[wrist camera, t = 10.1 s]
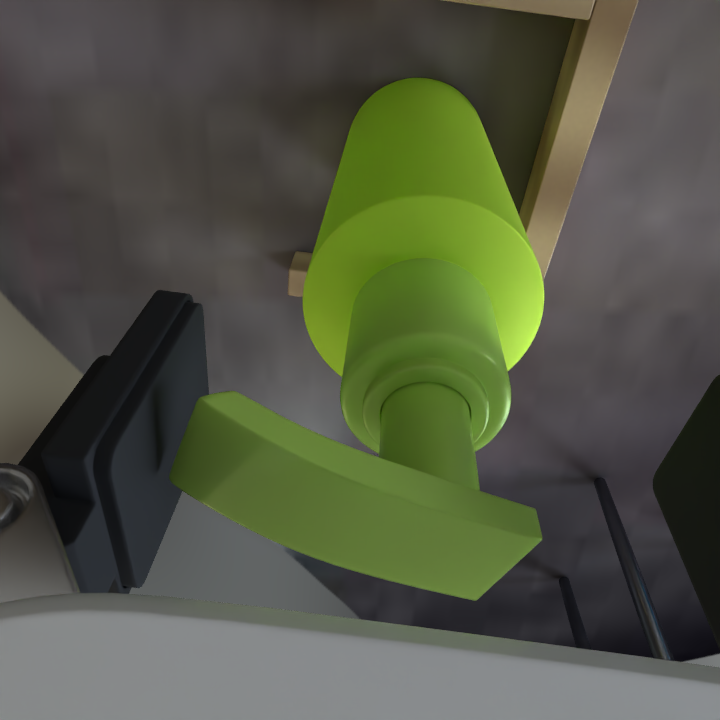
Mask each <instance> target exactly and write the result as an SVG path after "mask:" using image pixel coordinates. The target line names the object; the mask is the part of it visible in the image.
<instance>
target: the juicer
mask: <svg viewBox="0 0 720 720" xmlns="http://www.w3.org/2000/svg"><path fill="white" fill-rule="evenodd" d="M594 485H595V488H596V491H597V494H598V497H599V500H600V504H601V507H602V510H603V513H604V516H605V519H606V522H607V525H608V528H609V531H610V534H611V537H612V540H613V543H614V546H615V549H616V552H617V555H618V558H619V561H620V564H621V567H622V570H623V573H624V576H625V579H626V582H627V585H628V588H629V591H630V594H631V597H632V600H633V603H634V605H635V608H636V611H637V614H638V617H639V620H640V623H641V626H642V628H643V631H644V634H645V637H646V640H647V643H648V645H649V648H650V651H651V654H652V657H653V658H654V659H661V660H669V661H674V659H673V656H672V653H671V651H670V648H669V645H668V643H667V640H666V637H665V635H664V632H663V629H662V627H661V624H660V621H659V618H658V616H657V613H656V610H655V608H654V605H653V603H652V600H651V597H650V595H649V592H648V589H647V587H646V584H645V581H644V579H643V576H642V574H641V571H640V568H639V566H638V563H637V560H636V558H635V555H634V553H633V550H632V547H631V545H630V542H629V540H628V537H627V535H626V532H625V529H624V527H623V524H622V522H621V519H620V516H619V514H618V511H617V509H616V506H615V504H614V501H613V498H612V496H611V493H610V491H609V488H608V486H607V483H606V481H605V479H603V478H596V479H595V481H594ZM559 584H560V588H561V592H562V596H563V600H564V604H565V608H566V611H567V615H568V619H569V622H570V626H571V630H572V633H573V637H574V640H575V644H576V647H577V648H580V649H588V650H592V649H591V646H590V643H589V640H588V637H587V634H586V631H585V628H584V625H583V622H582V619H581V616H580V613H579V610H578V607H577V604H576V600H575V597H574V594H573V591H572V588H571V584H570V581H569V579H568V578H567V577H561V578H560V579H559Z"/></svg>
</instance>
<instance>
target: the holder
mask: <svg viewBox="0 0 720 720" xmlns="http://www.w3.org/2000/svg"><path fill="white" fill-rule="evenodd" d="M442 1H449V2H456V3H464V4H471V5H478V6H486V7H493V8H500V9H508V10H515V11H522V12H530V13H537V14H544V15H552V16H559V17H566V18H574V19H575V22H574V26H573V29H572V32H571V36H570V39H569V43H568V46H567V50H566V53H565V57H564V60H563V64H562V67H561V71H560V74H559V78H558V81H557V84H556V88H555V91H554V95H553V98H552V102H551V105H550V109H549V112H548V116H547V119H546V123H545V126H544V130H543V133H542V136H541V140H540V143H539V147H538V150H537V154H536V157H535V161H534V164H533V168H532V171H531V175H530V178H529V181H528V185H527V188H526V192H525V195H524V199H523V202H522V206H521V209H520V213H519V217H520V219H521V222H522V224H523V227H524V229H525V232H526V234H527V237H528V239H529V242H530V244H531V247H532V249H533V252H534V254H535V257H536V259H537V262H538V264H539V267H540V270H541V274H542V279H543V281H544V278H545V275H546V272H547V269H548V266H549V263H550V260H551V257H552V254H553V251H554V248H555V245H556V242H557V239H558V236H559V233H560V231H561V228H562V225H563V222H564V219H565V216H566V213H567V210H568V207H569V204H570V201H571V198H572V195H573V192H574V189H575V186H576V183H577V180H578V178H579V175H580V172H581V169H582V166H583V163H584V160H585V157H586V154H587V151H588V148H589V145H590V142H591V139H592V136H593V133H594V130H595V127H596V125H597V122H598V119H599V116H600V113H601V110H602V107H603V104H604V101H605V98H606V95H607V92H608V89H609V86H610V83H611V80H612V77H613V74H614V72H615V69H616V66H617V63H618V60H619V57H620V54H621V51H622V48H623V45H624V42H625V39H626V36H627V33H628V30H629V27H630V24H631V21H632V19H633V16H634V13H635V10H636V7H637V4H638V1H639V0H442ZM312 254H313V253H308V252H300V251H296V252H295V254H294V257H293V260H292V262H291V265H290V268H289V275H288V295H290V296H298V297H303V289H304V283H305V278H306V275H307V271H308V268H309V264H310V261H311V258H312Z"/></svg>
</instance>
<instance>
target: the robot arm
mask: <svg viewBox="0 0 720 720" xmlns="http://www.w3.org/2000/svg"><path fill="white" fill-rule="evenodd" d="M206 395H209V391H208V376H207V361H206V346H205V331H204V316H203V307H202V305H201V304H199V303H193V298H192V296H191V295H190V294H185V293H178V292H170V291H163V290H158V291H156V292H155V293H154V295H153V296H152V298H151V299H150V300H149V302H148V303H147V305H146V306H145V307H144V309H143V310H142V312H141V313H140V314H139V316H138V317H137V319H136V320H135V321H134V323H133V324H132V326H131V327H130V328H129V330H128V331H127V333H126V334H125V335H124V337H123V338H122V340H121V341H120V342H119V344H118V345H117V347H116V348H115V349H114V351H113V352H112V354H111V355H110V356H106V355H103V356H101V357H98V358H97V359H96V361H95V362H94V363H93V364H92V365H91V367H90V368H89V369H88V371H87V372H86V373H85V375H84V376H83V377H82V379H81V380H80V381H79V383H78V384H77V385H76V387H75V388H74V390H73V391H72V392H71V394H70V395H69V396H68V398H67V399H66V400H65V402H64V403H63V404H62V406H61V407H60V409H59V410H58V411H57V413H56V414H55V415H54V417H53V418H52V419H51V421H50V422H49V423H48V425H47V426H46V428H45V429H44V430H43V431H42V433H41V434H40V436H39V437H38V438H37V440H36V441H35V442H34V444H33V445H32V446H31V448H30V449H29V451H28V452H27V453H26V455H25V456H24V457H23V459H22V460H21V461H20V463H19V464H18V465H13V464H9V463H0V720H720V668H719V667H712V666H705V665H697V664H690V663H683V662H676V661H669V660H661V659H654V658H647V657H640V656H633V655H625V654H618V653H610V652H603V651H595V650H588V649H580V648H573V647H566V646H558V645H551V644H543V643H536V642H528V641H521V640H513V639H506V638H498V637H491V636H483V635H476V634H468V633H460V632H453V631H445V630H438V629H430V628H422V627H415V626H407V625H399V624H391V623H383V622H376V621H368V620H360V619H352V618H344V617H336V616H329V615H321V614H312V613H305V612H298V611H290V610H282V609H273V608H265V607H257V606H247V605H239V604H230V603H221V602H212V601H202V600H193V599H185V598H175V597H167V596H152V595H136V594H129V592H130V590H131V588H132V587H134V588H140V587H141V586H142V585H143V583H144V582H145V580H146V578H147V575H148V573H149V570H150V568H151V565H152V563H153V561H154V558H155V556H156V554H157V551H158V549H159V546H160V544H161V541H162V539H163V537H164V534H165V532H166V529H167V527H168V524H169V522H170V520H171V517H172V515H173V512H174V510H175V508H176V505H177V503H178V500H179V498H180V495H181V493H182V490H181V489H179V488H178V487H176V486H175V485H174V484H173V483H171V481H170V479H169V474H170V471H171V469H172V466H173V463H174V460H175V458H176V455H177V452H178V449H179V447H180V444H181V441H182V439H183V436H184V433H185V431H186V428H187V425H188V423H189V420H190V418H191V415H192V412H193V410H194V407H195V405H196V402H197V401H198V399H199V398H200V397H203V396H206ZM653 490H654V493H655V496H656V498H657V501H658V503H659V505H660V508H661V510H662V512H663V515H664V517H665V520H666V522H667V524H668V527H669V529H670V532H671V534H672V536H673V539H674V541H675V544H676V546H677V548H678V551H679V553H680V555H681V558H682V560H683V563H684V565H685V567H686V570H687V572H688V575H689V577H690V579H691V582H692V584H693V587H694V589H695V591H696V594H697V596H698V598H699V601H700V603H701V606H702V608H703V610H704V613H705V615H706V618H707V620H708V622H709V625H710V627H711V630H712V632H713V634H714V637H715V639H716V641H717V644H718V646H719V649H720V375H718V376H717V377H716V378H715V379H714V380H713V382H712V383H711V385H710V386H709V388H708V390H707V391H706V393H705V394H704V396H703V398H702V399H701V401H700V402H699V404H698V405H697V407H696V409H695V410H694V412H693V413H692V415H691V417H690V418H689V420H688V421H687V423H686V425H685V426H684V428H683V429H682V431H681V433H680V434H679V436H678V437H677V439H676V441H675V442H674V444H673V445H672V447H671V449H670V450H669V452H668V453H667V455H666V457H665V458H664V460H663V461H662V463H661V465H660V466H659V468H658V469H657V471H656V473H655V475H654V479H653Z"/></svg>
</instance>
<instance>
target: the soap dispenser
mask: <svg viewBox="0 0 720 720" xmlns="http://www.w3.org/2000/svg"><path fill="white" fill-rule="evenodd" d="M543 307H544V285H543V279H542V274H541V270H540V267H539V264H538V262H537V259H536V257H535V254H534V252H533V249H532V247H531V244H530V242H529V239H528V237H527V234H526V232H525V229H524V227H523V224H522V222H521V219H520V217H519V214H518V212H517V209H516V207H515V205H514V202H513V200H512V197H511V195H510V192H509V190H508V187H507V185H506V182H505V180H504V177H503V175H502V172H501V170H500V167H499V165H498V162H497V160H496V157H495V155H494V152H493V150H492V147H491V145H490V143H489V140H488V138H487V135H486V133H485V130H484V128H483V125H482V123H481V120H480V118H479V116H478V114H477V112H476V110H475V108H474V107H473V105H472V104H471V103H470V102H469V100H468V99H467V98H466V97H465V96H464V95H463V94H462V93H460V92H459V91H458V90H456V89H455V88H453V87H452V86H450V85H448V84H446V83H444V82H441V81H438V80H434V79H429V78H407V79H403V80H399V81H396V82H393V83H391V84H388V85H386V86H385V87H383V88H381V89H380V90H378V91H377V92H375V93H374V94H373V95H372V96H371V97H370V98H369V99H368V100H367V101H366V102H365V103H364V104H363V105H362V107H361V108H360V109H359V111H358V112H357V114H356V116H355V118H354V120H353V122H352V125H351V127H350V130H349V134H348V137H347V141H346V144H345V147H344V151H343V154H342V157H341V161H340V164H339V167H338V171H337V174H336V177H335V181H334V184H333V187H332V191H331V194H330V197H329V201H328V204H327V207H326V211H325V214H324V218H323V221H322V224H321V228H320V231H319V234H318V238H317V241H316V244H315V248H314V251H313V254H312V258H311V261H310V264H309V268H308V271H307V275H306V278H305V283H304V289H303V314H304V319H305V324H306V327H307V330H308V333H309V335H310V338H311V340H312V342H313V344H314V346H315V348H316V349H317V351H318V352H319V354H320V355H321V357H322V358H323V359H324V360H325V362H326V363H327V364H328V365H329V366H330V367H331V368H332V369H333V370H334V371H335V372H336V373H337V374H339V375H340V376H341V377H342V382H341V391H340V402H341V409H342V413H343V416H344V419H345V421H346V423H347V425H348V427H349V428H350V430H351V431H352V433H353V434H354V435H355V436H356V437H357V438H358V439H359V440H360V441H361V442H362V443H363V444H364V445H366V446H367V447H369V448H370V449H371V450H373V451H375V452H377V453H378V454H379V457H376V456H373V455H371V454H368V453H365V452H362V451H359V450H357V449H354V448H351V447H349V446H346V445H344V444H341V443H339V442H336V441H334V440H332V439H329V438H327V437H324V436H322V435H320V434H318V433H315V432H313V431H311V430H309V429H307V428H304V427H302V426H300V425H298V424H296V423H294V422H292V421H290V420H288V419H286V418H284V417H282V416H280V415H278V414H277V413H275V412H273V411H271V410H269V409H267V408H266V407H264V406H262V405H260V404H258V403H257V402H255V401H253V400H251V399H249V398H247V397H246V396H244V395H242V394H240V393H238V392H235V391H227V392H219V393H214V394H210V395H206V396H203V397H200V398H199V399H198V401H197V402H196V405H195V407H194V410H193V412H192V415H191V418H190V420H189V423H188V425H187V428H186V431H185V433H184V436H183V439H182V441H181V444H180V447H179V449H178V452H177V455H176V458H175V460H174V463H173V466H172V469H171V471H170V474H169V479H170V481H171V483H173V484H174V485H175V486H176V487H178V488H179V489H181V490H182V491H184V492H185V493H187V494H188V495H190V496H192V497H193V498H195V499H196V500H198V501H200V502H201V503H203V504H205V505H206V506H208V507H210V508H211V509H213V510H215V511H216V512H218V513H220V514H222V515H223V516H226V517H227V518H229V519H231V520H233V521H235V522H236V523H238V524H240V525H242V526H244V527H246V528H248V529H250V530H251V531H254V532H256V533H257V534H260V535H262V536H264V537H266V538H268V539H270V540H272V541H274V542H277V543H279V544H281V545H283V546H286V547H288V548H290V549H293V550H295V551H298V552H300V553H303V554H306V555H308V556H311V557H314V558H316V559H319V560H322V561H325V562H328V563H331V564H334V565H337V566H340V567H343V568H346V569H350V570H353V571H356V572H360V573H363V574H367V575H370V576H374V577H378V578H382V579H385V580H389V581H393V582H397V583H401V584H405V585H409V586H413V587H418V588H422V589H426V590H430V591H435V592H439V593H443V594H448V595H452V596H457V597H461V598H466V599H470V600H477V599H478V598H480V597H481V596H482V595H483V594H484V593H485V592H486V591H487V590H488V589H489V588H490V587H492V586H493V585H494V584H495V583H496V582H497V581H498V580H499V579H500V578H501V577H502V576H503V575H505V574H506V573H507V572H508V571H509V570H510V569H511V568H512V567H513V566H514V565H515V564H516V563H518V562H519V561H520V560H521V559H522V558H523V557H524V556H525V555H526V554H527V553H528V552H530V551H531V550H532V549H533V548H534V547H535V546H536V545H537V544H538V543H539V542H540V541H541V540H542V534H541V530H540V526H539V521H538V517H537V512H536V510H535V509H534V508H531V507H528V506H525V505H522V504H519V503H515V502H512V501H509V500H506V499H503V498H500V497H497V496H494V495H490V494H487V493H484V492H481V491H480V487H479V480H478V472H477V464H476V457H475V452H476V451H477V450H479V449H480V448H482V447H483V446H485V445H486V444H487V443H488V442H490V441H491V440H492V439H493V438H494V437H495V436H496V435H497V434H498V432H499V431H500V430H501V428H502V427H503V425H504V423H505V421H506V419H507V417H508V414H509V411H510V406H511V386H510V380H509V376H508V371H509V370H510V369H511V368H512V367H513V366H514V365H515V364H516V363H517V362H518V361H519V360H520V358H521V357H522V356H523V355H524V353H525V352H526V351H527V349H528V348H529V346H530V345H531V343H532V341H533V339H534V337H535V335H536V333H537V330H538V328H539V325H540V322H541V318H542V313H543Z"/></svg>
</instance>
